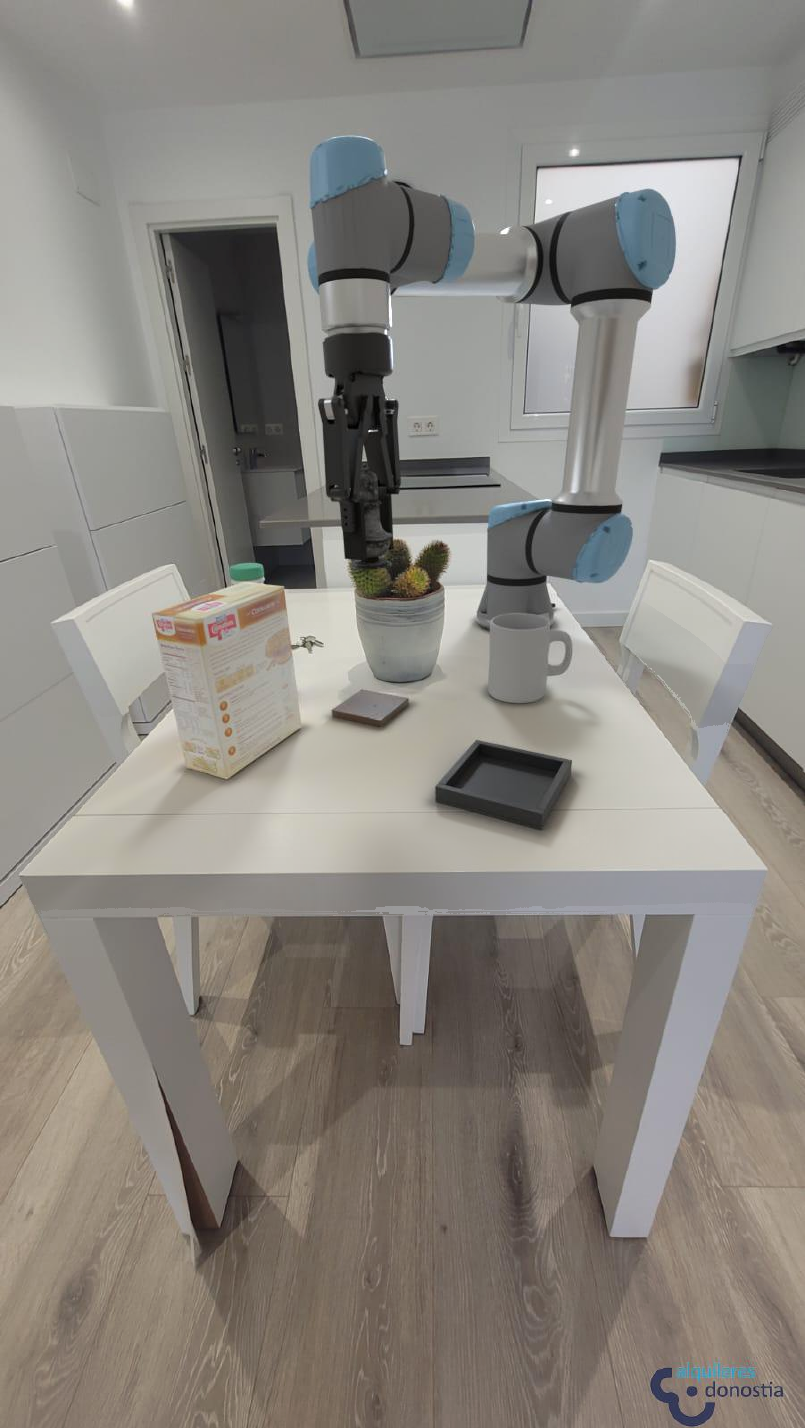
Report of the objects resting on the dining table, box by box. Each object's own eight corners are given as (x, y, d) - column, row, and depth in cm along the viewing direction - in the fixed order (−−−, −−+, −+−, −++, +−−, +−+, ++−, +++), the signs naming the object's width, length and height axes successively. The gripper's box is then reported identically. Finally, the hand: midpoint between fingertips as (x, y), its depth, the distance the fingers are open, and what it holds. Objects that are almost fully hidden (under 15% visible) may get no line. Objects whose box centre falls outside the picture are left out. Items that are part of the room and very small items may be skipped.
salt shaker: (352, 572, 71) (344, 464, 66) (342, 562, 76) (334, 461, 71) (399, 567, 73) (395, 461, 68) (386, 558, 78) (382, 459, 73)
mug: (491, 704, 85) (493, 631, 81) (484, 681, 93) (486, 613, 88) (575, 702, 85) (582, 628, 80) (561, 679, 93) (568, 611, 88)
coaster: (362, 695, 90) (361, 689, 89) (408, 704, 86) (408, 698, 86) (332, 716, 84) (331, 710, 83) (381, 727, 80) (380, 720, 80)
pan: (475, 753, 73) (476, 739, 72) (570, 774, 68) (572, 759, 67) (435, 801, 64) (435, 786, 63) (541, 830, 59) (542, 814, 58)
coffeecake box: (263, 718, 84) (242, 580, 75) (304, 727, 81) (287, 585, 72) (183, 768, 72) (147, 611, 64) (227, 781, 69) (196, 618, 60)
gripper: (371, 346, 73) (381, 539, 83) (273, 329, 58) (299, 567, 68) (426, 340, 70) (429, 542, 80) (337, 320, 55) (355, 572, 65)
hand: (369, 553), depth 74 cm, fingers closed on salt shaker, 6 cm apart
